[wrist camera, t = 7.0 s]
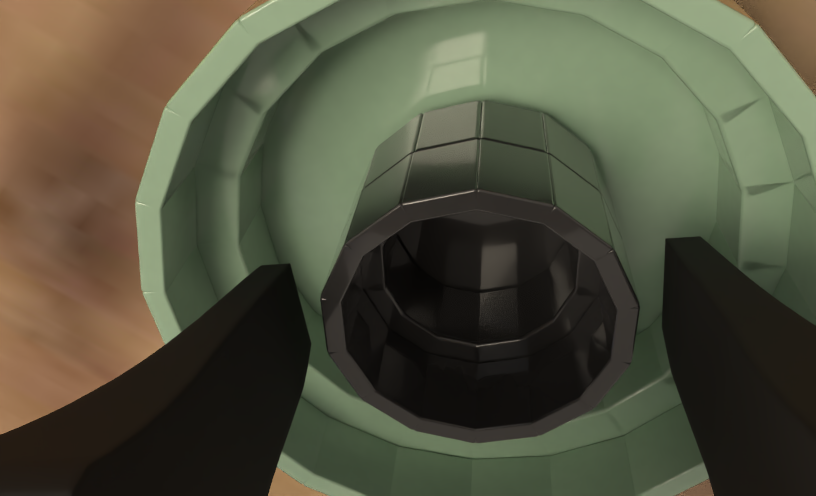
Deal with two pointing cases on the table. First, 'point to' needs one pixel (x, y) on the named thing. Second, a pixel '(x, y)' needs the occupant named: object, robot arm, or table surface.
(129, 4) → the table surface
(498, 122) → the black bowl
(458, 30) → the sage bowl
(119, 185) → the table surface
